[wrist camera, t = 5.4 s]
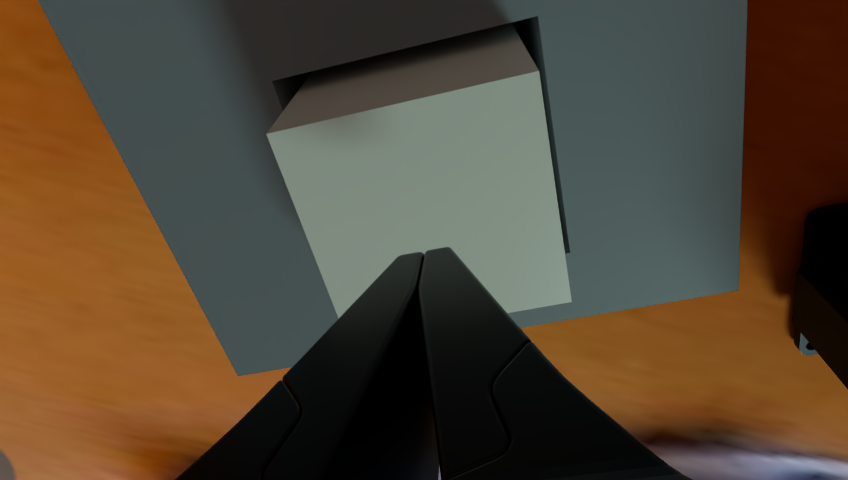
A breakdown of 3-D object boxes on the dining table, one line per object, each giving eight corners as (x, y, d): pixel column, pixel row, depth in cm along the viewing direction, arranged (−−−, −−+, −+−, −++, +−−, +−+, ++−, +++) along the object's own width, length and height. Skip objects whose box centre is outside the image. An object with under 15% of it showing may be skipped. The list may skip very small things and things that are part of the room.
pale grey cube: (509, 19, 14) (539, 70, 10) (537, 198, 17) (572, 302, 12) (316, 66, 15) (266, 134, 11) (370, 231, 17) (347, 341, 13)
